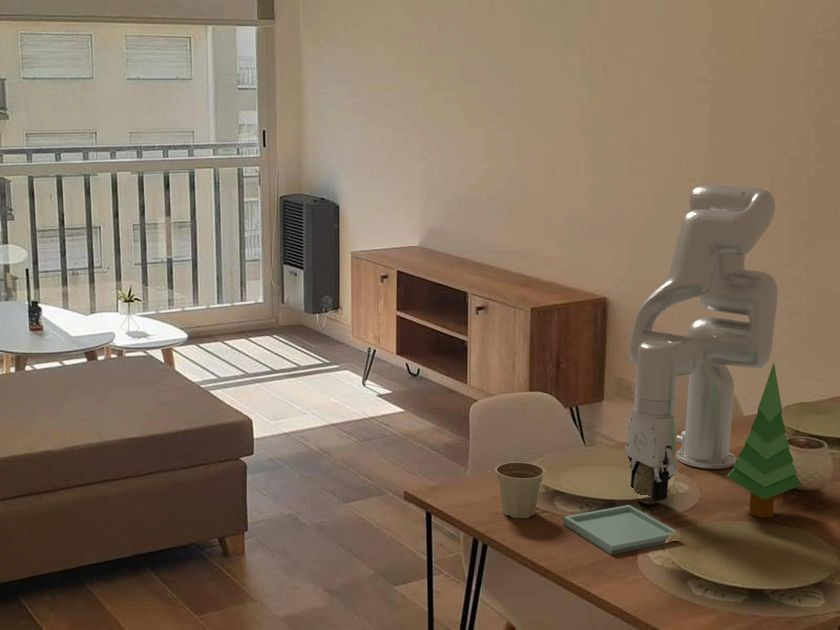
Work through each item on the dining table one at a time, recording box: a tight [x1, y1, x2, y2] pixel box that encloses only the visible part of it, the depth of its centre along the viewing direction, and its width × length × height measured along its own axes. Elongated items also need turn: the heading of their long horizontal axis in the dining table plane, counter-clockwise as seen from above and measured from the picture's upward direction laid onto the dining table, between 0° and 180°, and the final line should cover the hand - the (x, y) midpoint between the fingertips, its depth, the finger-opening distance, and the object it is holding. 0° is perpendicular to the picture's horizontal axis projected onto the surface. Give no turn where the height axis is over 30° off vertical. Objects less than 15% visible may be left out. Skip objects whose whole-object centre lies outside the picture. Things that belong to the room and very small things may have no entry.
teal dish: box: [562, 504, 677, 556], centre depth 216 cm, size 15×15×2 cm
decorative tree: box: [726, 362, 803, 518], centre depth 224 cm, size 14×16×30 cm
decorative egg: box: [633, 463, 664, 505], centre depth 230 cm, size 6×6×10 cm
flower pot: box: [494, 461, 546, 519], centre depth 224 cm, size 9×9×9 cm
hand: (648, 493), depth 231 cm, fingers closed on decorative egg, 6 cm apart
